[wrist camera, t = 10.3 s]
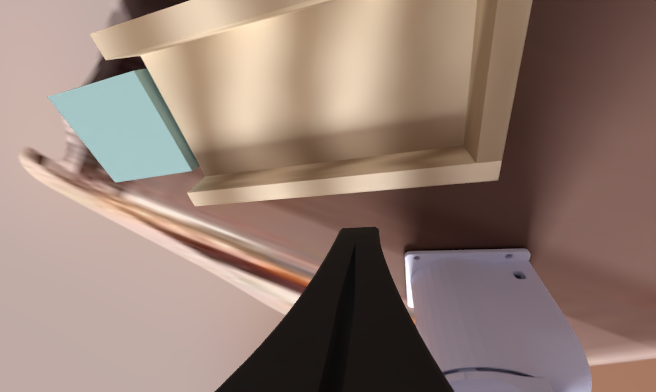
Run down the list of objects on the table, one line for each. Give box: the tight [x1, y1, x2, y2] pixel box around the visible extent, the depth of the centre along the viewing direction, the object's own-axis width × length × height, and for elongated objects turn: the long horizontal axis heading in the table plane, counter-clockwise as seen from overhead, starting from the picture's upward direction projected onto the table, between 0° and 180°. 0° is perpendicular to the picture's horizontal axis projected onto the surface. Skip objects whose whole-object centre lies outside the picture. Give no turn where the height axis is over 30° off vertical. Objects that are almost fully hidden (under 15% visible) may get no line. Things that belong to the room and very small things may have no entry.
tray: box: [90, 0, 533, 206], centre depth 14 cm, size 20×11×3 cm, turn 102°
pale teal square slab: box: [48, 68, 199, 182], centre depth 19 cm, size 8×7×2 cm
